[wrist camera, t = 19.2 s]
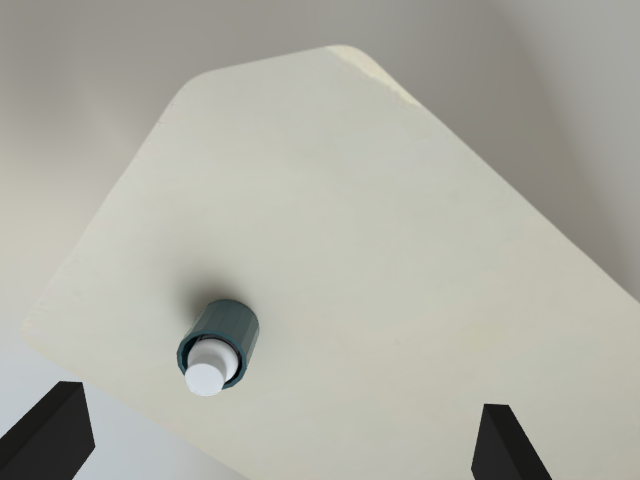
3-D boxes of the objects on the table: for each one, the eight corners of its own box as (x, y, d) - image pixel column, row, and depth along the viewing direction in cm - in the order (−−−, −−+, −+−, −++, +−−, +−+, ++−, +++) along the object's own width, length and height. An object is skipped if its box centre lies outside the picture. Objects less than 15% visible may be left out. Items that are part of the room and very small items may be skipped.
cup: (196, 297, 47) (173, 328, 40) (258, 300, 47) (245, 331, 40) (201, 351, 50) (180, 388, 43) (259, 354, 49) (247, 391, 43)
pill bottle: (232, 354, 49) (208, 411, 40) (199, 328, 48) (166, 380, 39) (259, 328, 48) (241, 380, 38) (226, 301, 47) (198, 347, 37)
